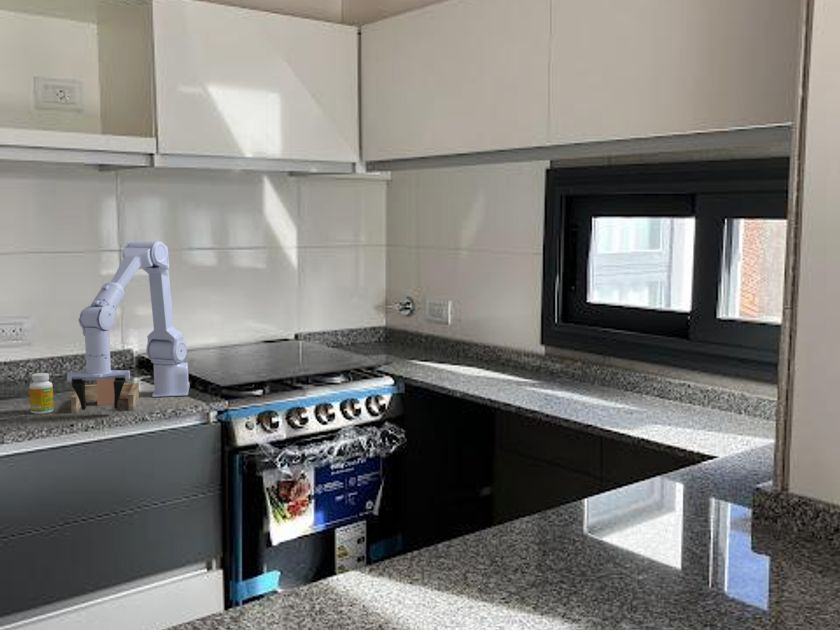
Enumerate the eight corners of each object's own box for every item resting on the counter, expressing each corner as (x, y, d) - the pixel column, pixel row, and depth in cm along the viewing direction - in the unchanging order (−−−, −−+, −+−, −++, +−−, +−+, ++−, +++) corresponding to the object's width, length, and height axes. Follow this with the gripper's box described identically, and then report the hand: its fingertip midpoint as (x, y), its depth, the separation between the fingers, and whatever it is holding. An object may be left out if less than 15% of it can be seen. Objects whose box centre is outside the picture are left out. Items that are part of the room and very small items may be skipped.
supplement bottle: (45, 414, 219) (43, 376, 217) (25, 413, 220) (24, 375, 218) (58, 410, 224) (56, 372, 223) (39, 409, 225) (37, 371, 224)
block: (117, 401, 235) (116, 375, 234) (115, 404, 230) (114, 378, 229) (99, 402, 234) (98, 376, 233) (97, 405, 229) (96, 379, 228)
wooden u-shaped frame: (139, 397, 239) (139, 383, 239) (134, 410, 224) (133, 394, 223) (80, 399, 236) (80, 385, 236) (71, 412, 220) (70, 397, 220)
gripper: (64, 358, 210) (66, 413, 212) (127, 356, 213) (129, 410, 215) (68, 353, 217) (71, 407, 219) (129, 351, 220) (131, 404, 222)
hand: (100, 408), depth 217 cm, fingers open, 7 cm apart
